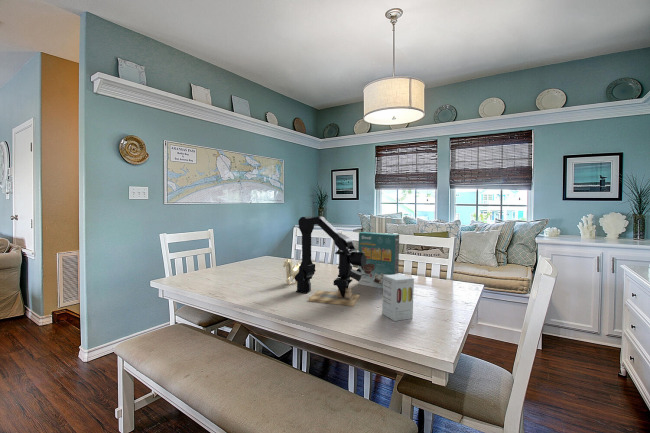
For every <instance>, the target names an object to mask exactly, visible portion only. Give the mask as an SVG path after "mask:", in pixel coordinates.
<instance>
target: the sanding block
mask: <svg viewBox="0 0 650 433" xmlns="http://www.w3.org/2000/svg"><path fill="white" fill-rule="evenodd" d="M352 290H353V289H352V288H349V287H348V288H346V292H345V297H342V296H341V293H340V291H339V289H338V288H337V293H338V298H343V299H350V298H351V297H352V294H353V293H352V292H353V291H352Z"/></svg>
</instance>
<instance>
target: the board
mask: <svg viewBox="0 0 650 433" xmlns="http://www.w3.org/2000/svg"><path fill="white" fill-rule="evenodd" d="M359 298H360V294H355V293H352V297H351V298H350V299H343V298H338V291H337V292H335V291H325V290H317V291H315V292H314V293H313V294H312V295H311V296H309V298H308V300H307V301H308V302H314V303H322V304H323V303H324V304H331V305H333V304H334V305H340V306H342V305H343V306H347V307H348V306H349V307H354V306H355V305H356V303H357V302H358V299H359Z"/></svg>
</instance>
